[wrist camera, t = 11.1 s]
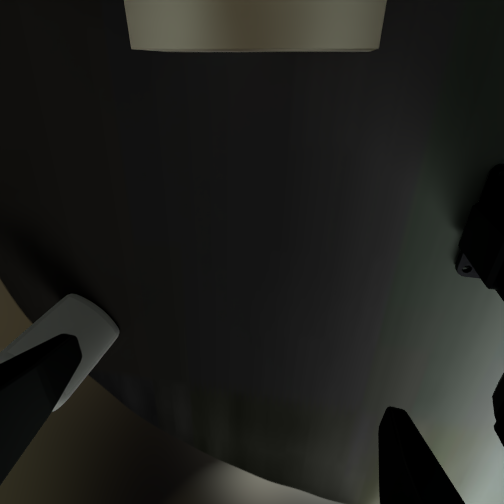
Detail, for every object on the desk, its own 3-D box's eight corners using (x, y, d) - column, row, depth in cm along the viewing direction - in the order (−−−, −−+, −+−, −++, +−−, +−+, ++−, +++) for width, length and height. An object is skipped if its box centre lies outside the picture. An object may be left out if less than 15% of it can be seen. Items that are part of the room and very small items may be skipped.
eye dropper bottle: (96, 287, 27) (-46, 420, 17) (127, 338, 30) (17, 482, 19) (57, 293, 29) (-96, 419, 18) (89, 341, 31) (-31, 476, 21)
